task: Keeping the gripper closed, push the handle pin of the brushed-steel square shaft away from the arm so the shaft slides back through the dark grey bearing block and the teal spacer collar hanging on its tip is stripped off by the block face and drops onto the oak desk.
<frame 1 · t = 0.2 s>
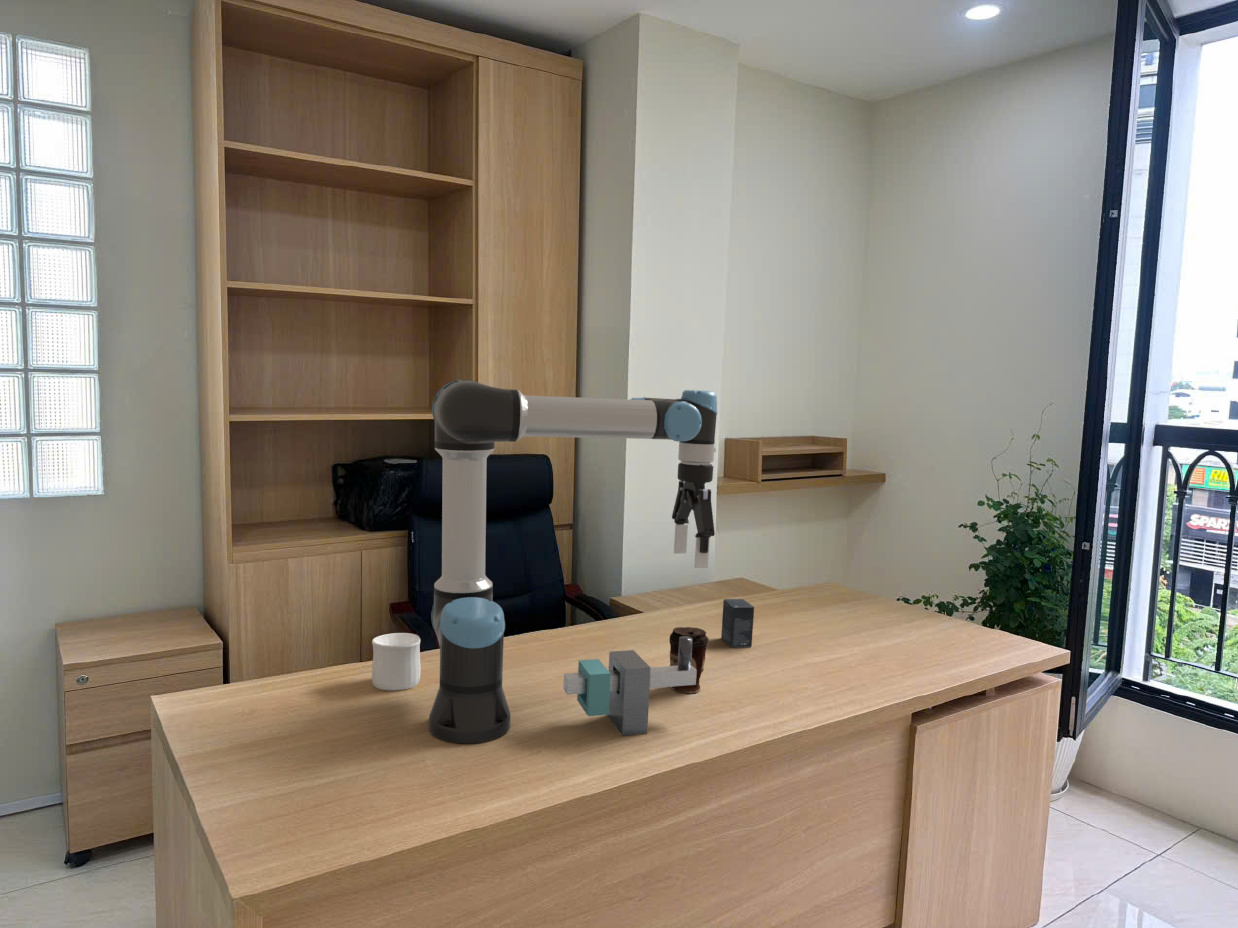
hand: (690, 560, 185), 28 cm above the table, fingers open, 13 cm apart
coffee cup: (685, 689, 186), on the table
cup: (396, 684, 181), on the table
bearing block: (626, 724, 166), on the table
shaft: (631, 664, 165), point 12 cm above the table, slide at 0.0 cm, touching spacer
box: (736, 643, 219), on the table
spacer: (592, 707, 163), point 4 cm above the table, touching shaft
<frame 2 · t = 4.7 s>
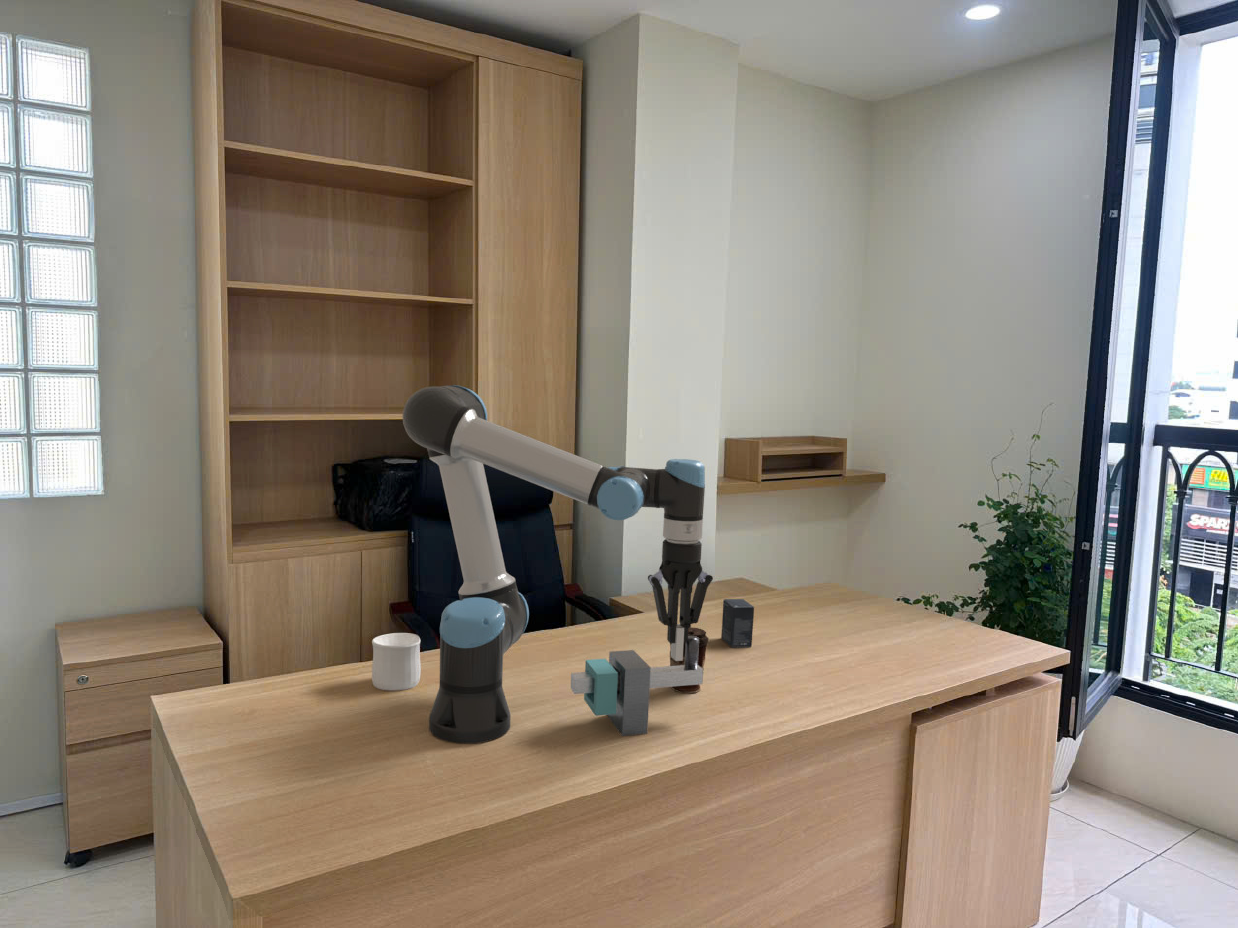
hand: (676, 658, 167), 13 cm above the table, fingers closed
shaft: (638, 663, 165), point 12 cm above the table, slide at 1.4 cm, touching gripper, spacer
spacer: (599, 706, 164), point 4 cm above the table, touching shaft
everything else where it was.
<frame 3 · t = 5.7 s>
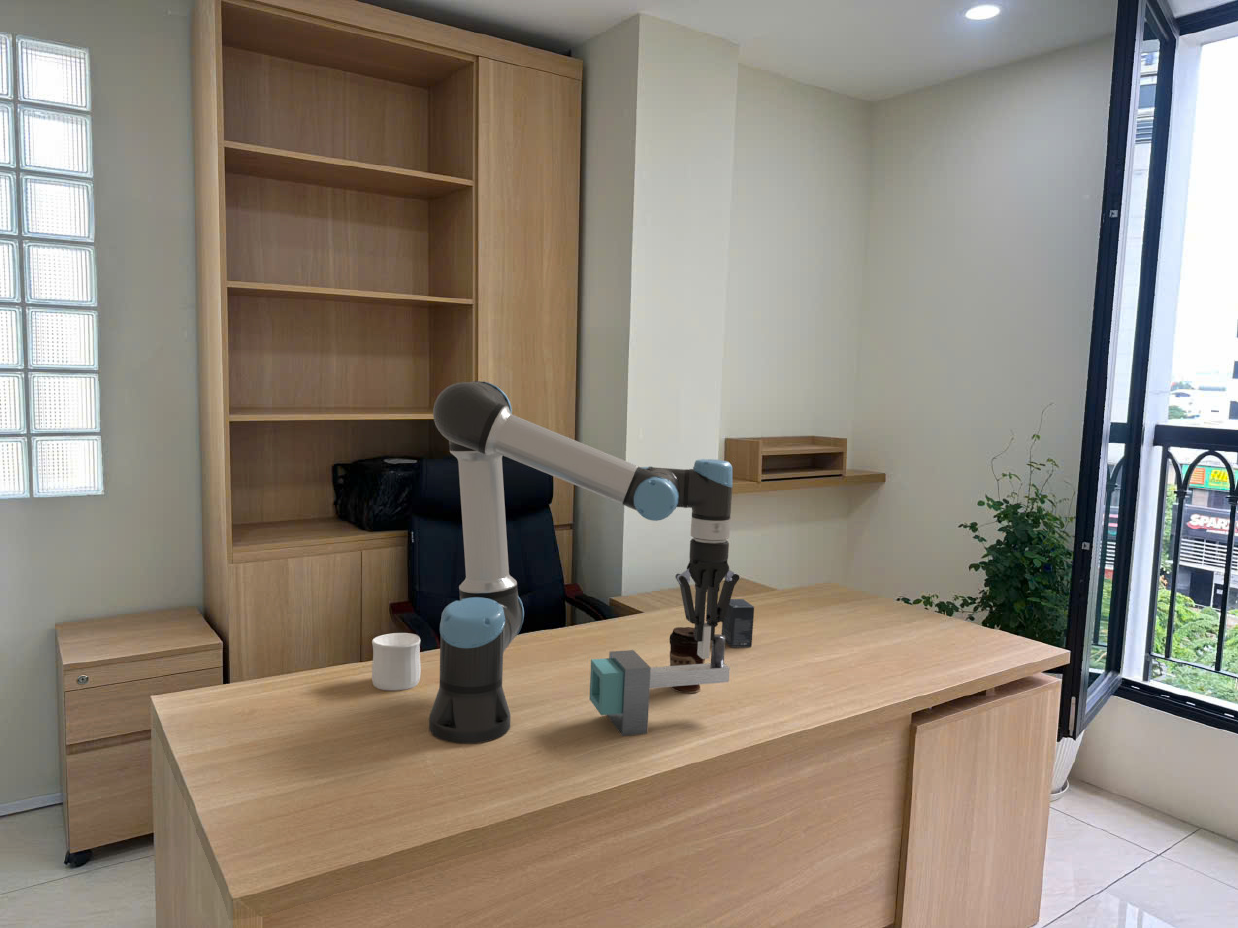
hand: (703, 656, 169), 13 cm above the table, fingers closed
shaft: (665, 661, 167), point 12 cm above the table, slide at 7.1 cm, touching gripper
spacer: (605, 706, 164), point 4 cm above the table, touching bearing block
everything else where it was.
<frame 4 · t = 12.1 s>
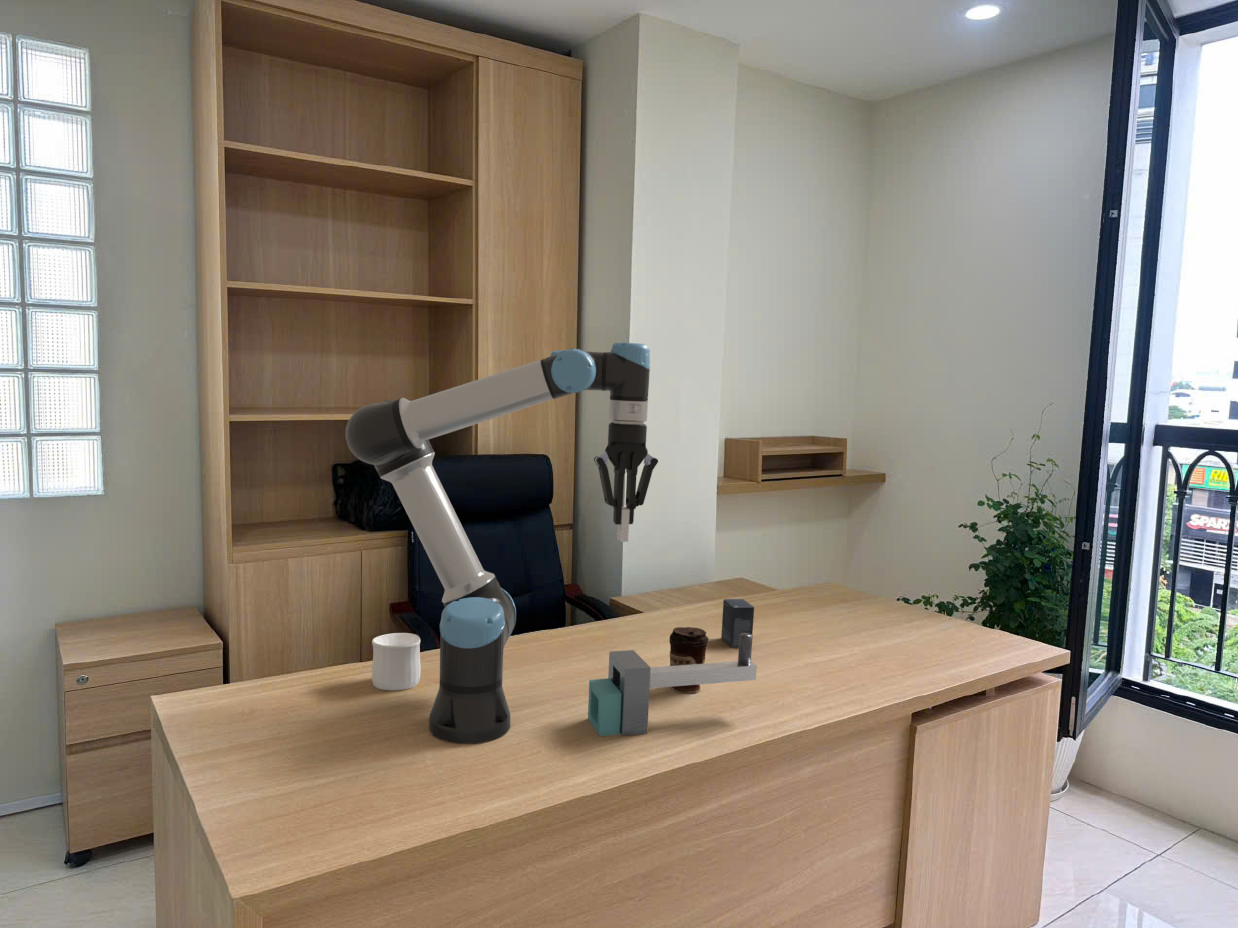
hand: (622, 540, 171), 34 cm above the table, fingers closed
shaft: (694, 660, 169), point 12 cm above the table, slide at 13.0 cm
spacer: (603, 726, 164), on the table
everything else where it was.
at the end: shaft slide at 13.0 cm; spacer touching table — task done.
